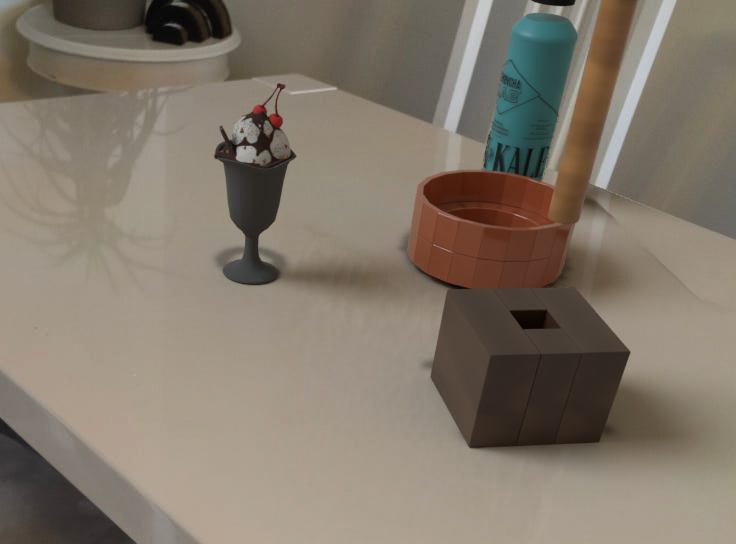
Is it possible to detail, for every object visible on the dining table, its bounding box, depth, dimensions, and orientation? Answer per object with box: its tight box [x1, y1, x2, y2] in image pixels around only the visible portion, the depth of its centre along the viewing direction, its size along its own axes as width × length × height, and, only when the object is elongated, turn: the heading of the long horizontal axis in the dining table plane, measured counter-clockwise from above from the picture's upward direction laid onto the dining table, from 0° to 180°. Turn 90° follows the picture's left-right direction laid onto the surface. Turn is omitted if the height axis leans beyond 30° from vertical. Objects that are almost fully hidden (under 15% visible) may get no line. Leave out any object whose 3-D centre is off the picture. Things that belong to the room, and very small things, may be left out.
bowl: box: [406, 169, 576, 289], centre depth 88 cm, size 14×14×6 cm
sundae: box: [213, 82, 298, 285], centre depth 81 cm, size 7×7×15 cm
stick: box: [548, 0, 639, 224], centre depth 57 cm, size 2×2×18 cm
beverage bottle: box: [480, 0, 579, 182], centre depth 96 cm, size 6×7×20 cm
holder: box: [430, 286, 631, 448], centre depth 70 cm, size 10×10×7 cm
